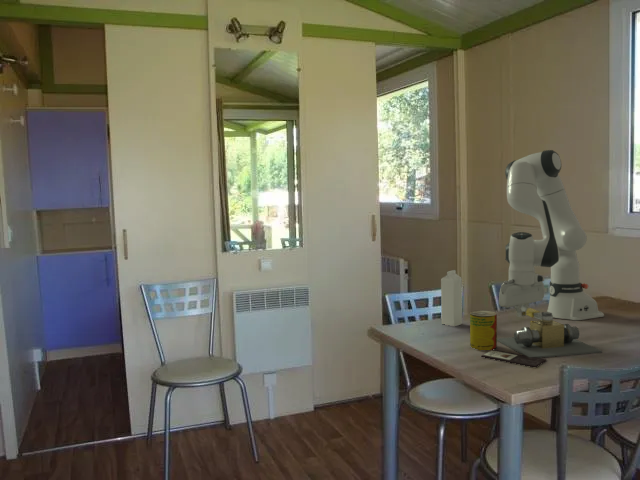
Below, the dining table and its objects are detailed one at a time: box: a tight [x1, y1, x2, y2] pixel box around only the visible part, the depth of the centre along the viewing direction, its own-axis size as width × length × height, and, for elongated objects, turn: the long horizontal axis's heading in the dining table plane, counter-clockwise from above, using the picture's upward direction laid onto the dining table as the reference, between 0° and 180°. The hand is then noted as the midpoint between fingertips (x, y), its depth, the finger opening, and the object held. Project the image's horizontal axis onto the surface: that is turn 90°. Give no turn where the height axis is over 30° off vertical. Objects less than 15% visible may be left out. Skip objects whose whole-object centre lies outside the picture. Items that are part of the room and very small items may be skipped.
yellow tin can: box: [469, 309, 498, 351], centre depth 202 cm, size 9×9×12 cm
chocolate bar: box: [480, 349, 548, 368], centre depth 188 cm, size 9×1×18 cm
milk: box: [440, 269, 463, 327], centre depth 234 cm, size 6×6×22 cm
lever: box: [526, 307, 554, 323], centre depth 205 cm, size 15×4×3 cm, turn 10°
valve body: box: [513, 319, 580, 348], centre depth 201 cm, size 22×8×8 cm, turn 100°
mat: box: [497, 336, 603, 359], centre depth 201 cm, size 26×23×1 cm
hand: (521, 316), depth 208 cm, fingers closed
